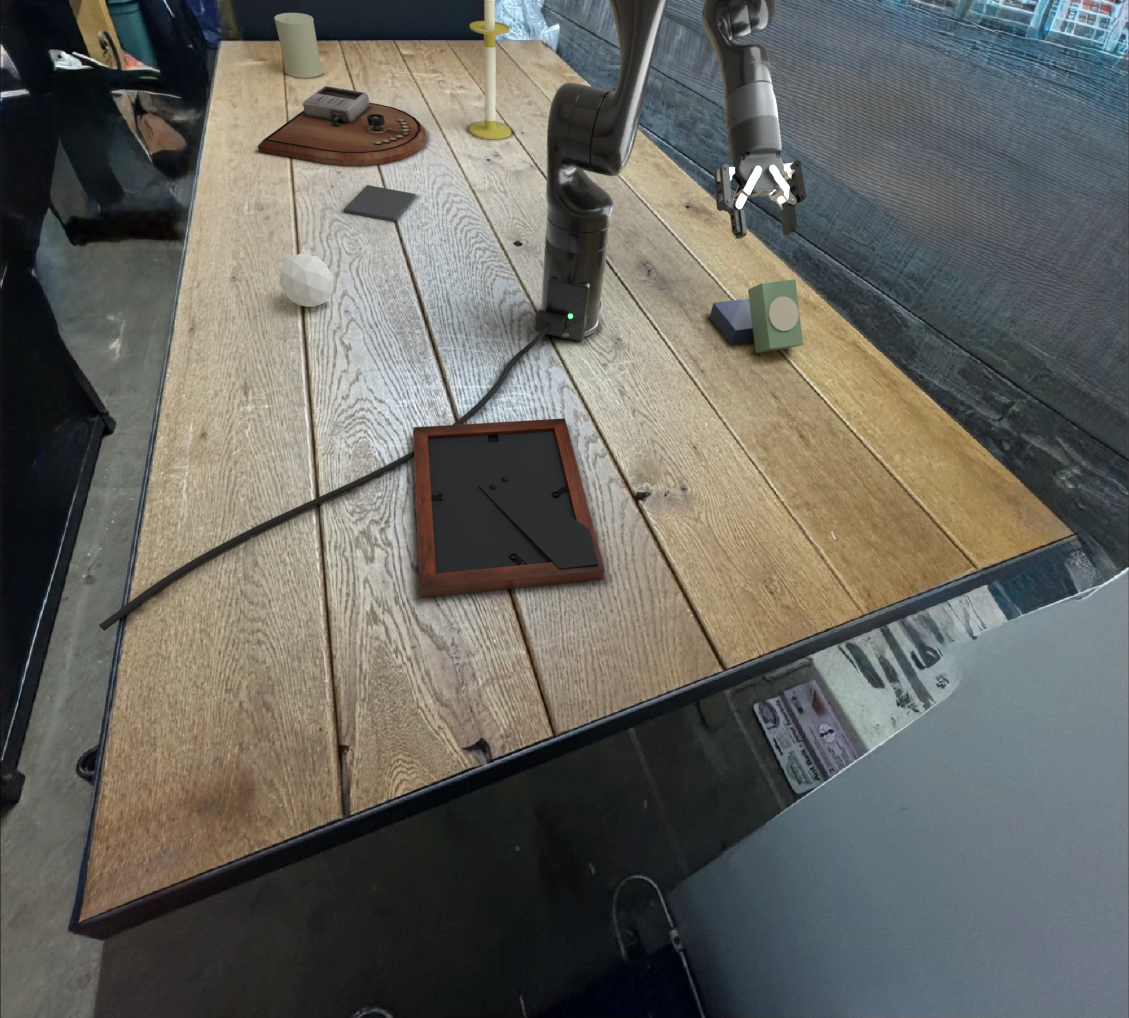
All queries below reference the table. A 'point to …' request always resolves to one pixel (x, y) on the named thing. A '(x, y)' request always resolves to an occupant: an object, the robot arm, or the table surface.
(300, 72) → the can
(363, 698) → the table surface
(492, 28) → the cream and yellow pole
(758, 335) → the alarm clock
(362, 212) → the felt pad
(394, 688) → the table surface
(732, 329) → the rectangular block
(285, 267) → the geometric ball
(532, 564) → the picture frame
